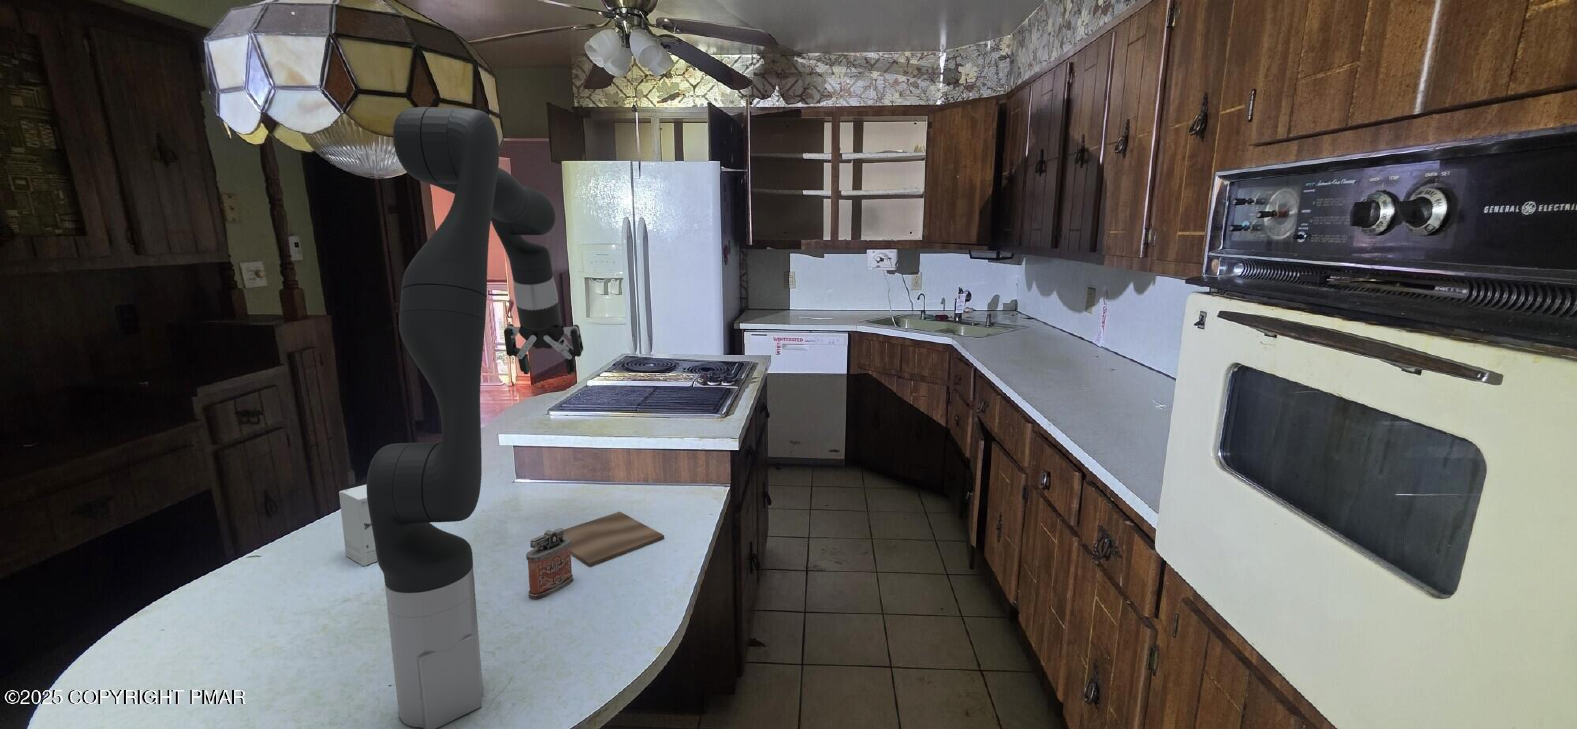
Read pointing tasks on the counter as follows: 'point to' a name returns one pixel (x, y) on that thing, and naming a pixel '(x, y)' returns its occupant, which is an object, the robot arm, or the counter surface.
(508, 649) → the counter surface
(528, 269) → the robot arm
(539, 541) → the lighter
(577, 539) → the board
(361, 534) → the supplement box
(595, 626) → the counter surface
